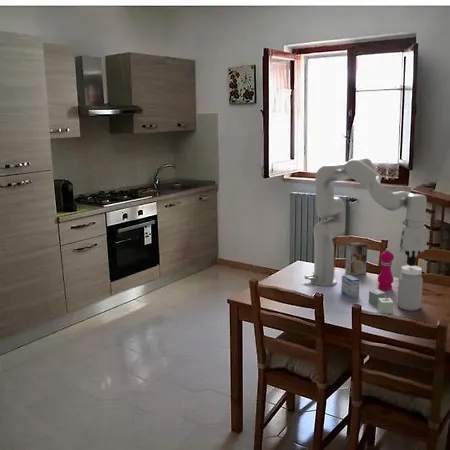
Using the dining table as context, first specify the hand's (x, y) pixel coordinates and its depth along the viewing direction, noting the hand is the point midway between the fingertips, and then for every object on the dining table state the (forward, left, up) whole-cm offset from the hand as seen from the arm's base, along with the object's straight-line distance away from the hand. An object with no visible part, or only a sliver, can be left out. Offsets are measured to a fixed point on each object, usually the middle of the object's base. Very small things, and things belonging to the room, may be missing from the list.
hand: (410, 265), depth 214 cm
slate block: (-11, +8, -19) cm, 23 cm away
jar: (0, 0, -19) cm, 19 cm away
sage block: (-12, -2, -19) cm, 23 cm away
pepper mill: (+1, +24, -19) cm, 30 cm away
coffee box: (-3, +49, -19) cm, 52 cm away
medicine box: (-19, +19, -19) cm, 33 cm away
